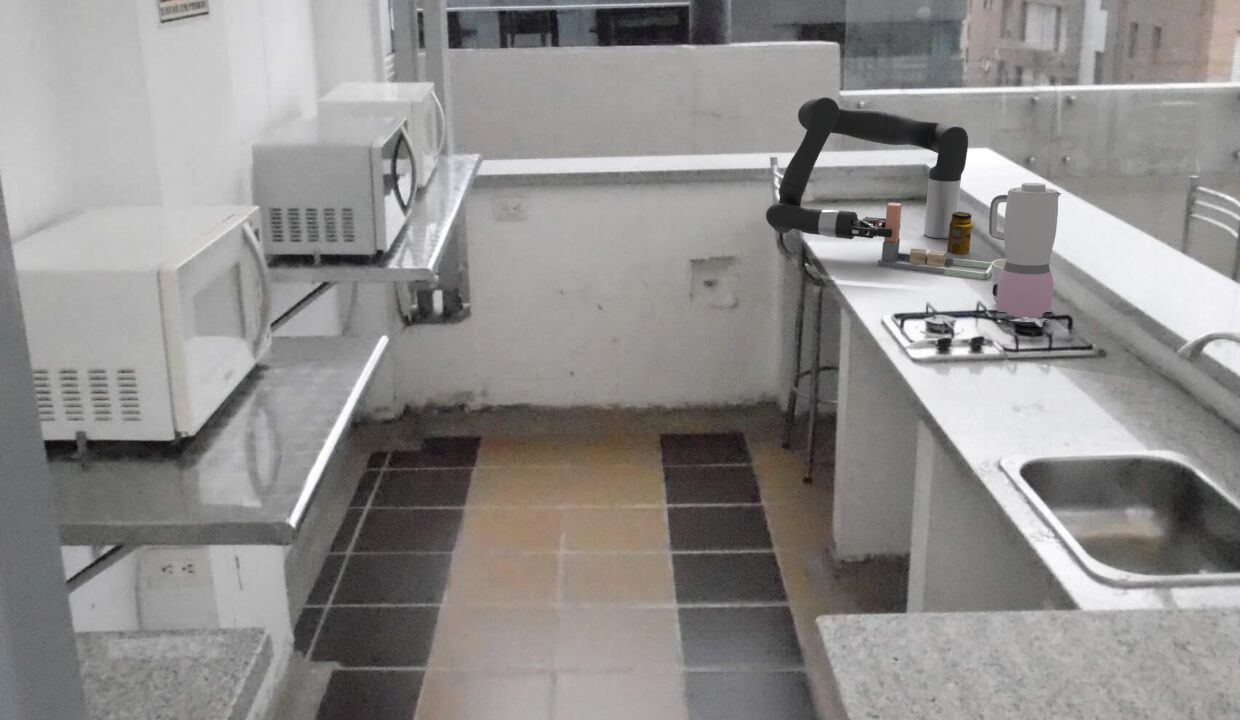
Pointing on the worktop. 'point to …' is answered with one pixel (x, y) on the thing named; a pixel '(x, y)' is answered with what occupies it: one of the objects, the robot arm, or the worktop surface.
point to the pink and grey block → (892, 222)
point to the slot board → (904, 264)
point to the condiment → (959, 233)
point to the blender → (1026, 249)
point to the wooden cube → (918, 256)
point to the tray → (970, 273)
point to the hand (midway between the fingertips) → (896, 230)
